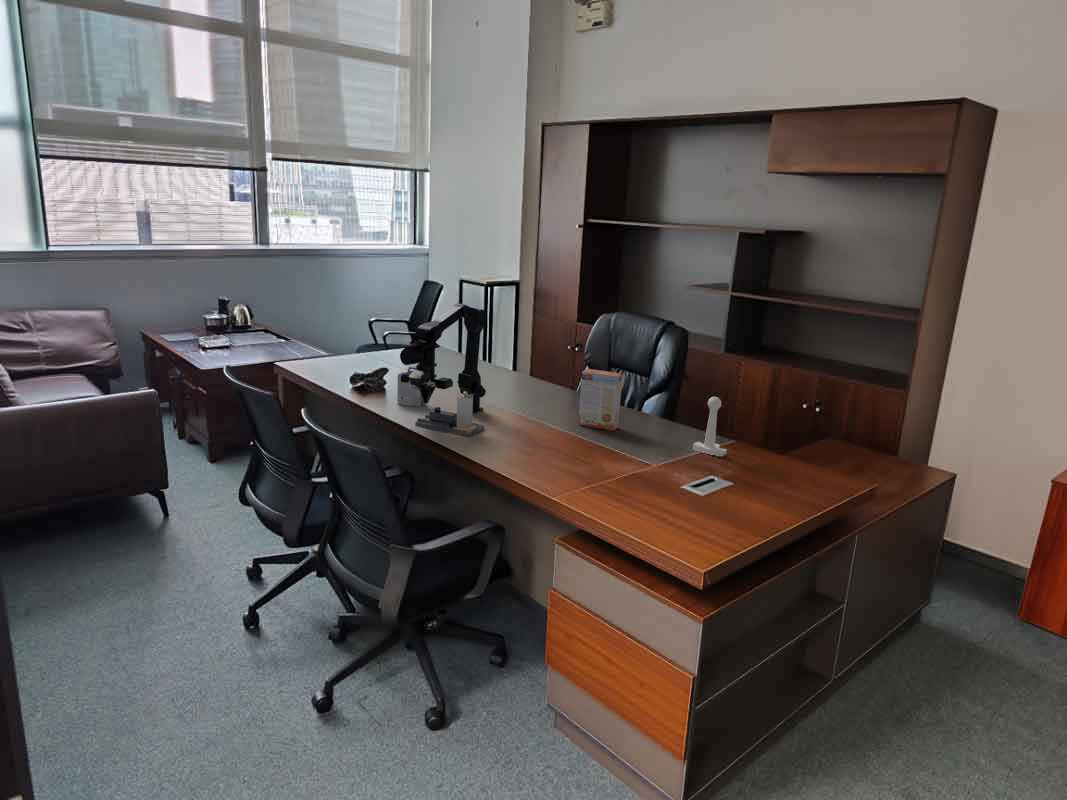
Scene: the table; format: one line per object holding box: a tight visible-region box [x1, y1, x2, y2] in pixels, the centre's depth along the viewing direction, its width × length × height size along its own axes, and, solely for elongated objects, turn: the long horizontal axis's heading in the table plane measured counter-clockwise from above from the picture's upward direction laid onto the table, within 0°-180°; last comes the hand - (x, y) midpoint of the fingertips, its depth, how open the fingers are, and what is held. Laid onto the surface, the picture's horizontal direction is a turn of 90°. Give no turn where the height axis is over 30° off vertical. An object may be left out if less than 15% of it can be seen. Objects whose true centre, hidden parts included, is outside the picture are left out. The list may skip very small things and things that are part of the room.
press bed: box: [414, 414, 485, 438], centre depth 263 cm, size 10×22×2 cm, turn 66°
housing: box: [456, 392, 473, 429], centre depth 259 cm, size 5×5×12 cm
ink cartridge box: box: [397, 366, 426, 407], centre depth 288 cm, size 10×6×14 cm, turn 78°
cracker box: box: [578, 368, 623, 432], centre depth 271 cm, size 14×6×21 cm, turn 65°
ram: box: [428, 406, 457, 425], centre depth 263 cm, size 4×10×5 cm, turn 66°
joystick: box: [692, 396, 728, 457], centre depth 250 cm, size 11×8×20 cm
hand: (426, 403), depth 265 cm, fingers closed
